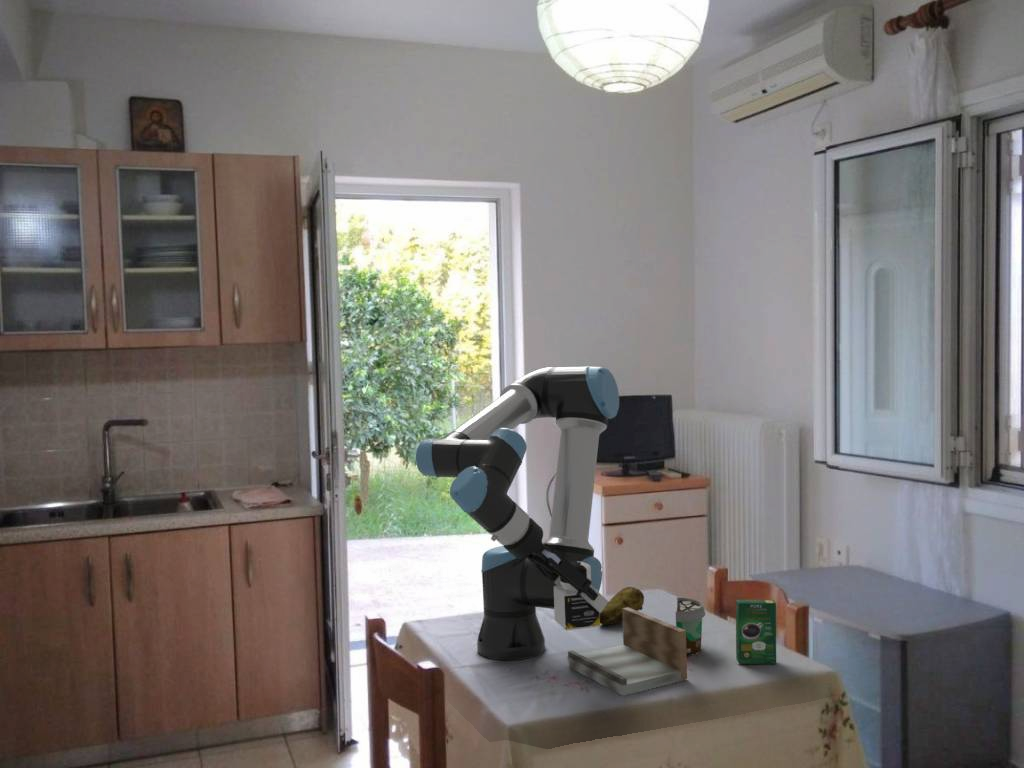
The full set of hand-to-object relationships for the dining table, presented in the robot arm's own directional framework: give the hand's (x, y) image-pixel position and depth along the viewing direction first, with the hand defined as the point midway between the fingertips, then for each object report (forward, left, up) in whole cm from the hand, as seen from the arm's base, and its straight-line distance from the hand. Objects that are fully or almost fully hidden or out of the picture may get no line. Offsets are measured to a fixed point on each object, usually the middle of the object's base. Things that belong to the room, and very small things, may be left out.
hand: (591, 601), depth 186 cm
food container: (+10, +28, -17) cm, 34 cm away
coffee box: (+25, +26, -17) cm, 40 cm away
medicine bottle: (-2, -3, -4) cm, 5 cm away
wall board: (+3, +8, -17) cm, 19 cm away
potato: (-13, +40, -17) cm, 45 cm away
